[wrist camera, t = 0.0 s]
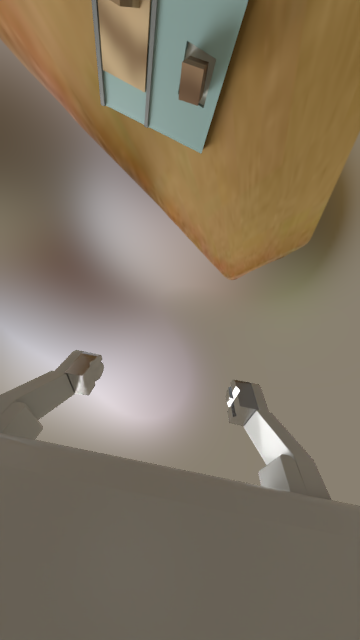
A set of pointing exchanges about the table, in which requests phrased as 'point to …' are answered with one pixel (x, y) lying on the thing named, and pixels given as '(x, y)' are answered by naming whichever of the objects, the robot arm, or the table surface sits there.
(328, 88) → the table surface
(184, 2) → the puzzle board
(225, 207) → the table surface
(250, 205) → the table surface
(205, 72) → the walnut block
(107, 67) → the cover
